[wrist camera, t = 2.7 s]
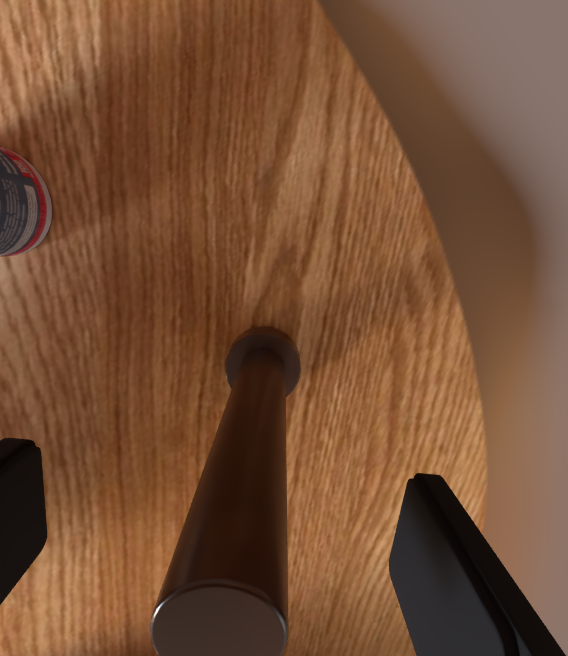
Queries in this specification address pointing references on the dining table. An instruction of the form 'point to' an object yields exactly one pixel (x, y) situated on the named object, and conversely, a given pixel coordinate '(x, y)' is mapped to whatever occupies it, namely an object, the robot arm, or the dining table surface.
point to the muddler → (237, 518)
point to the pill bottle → (21, 205)
